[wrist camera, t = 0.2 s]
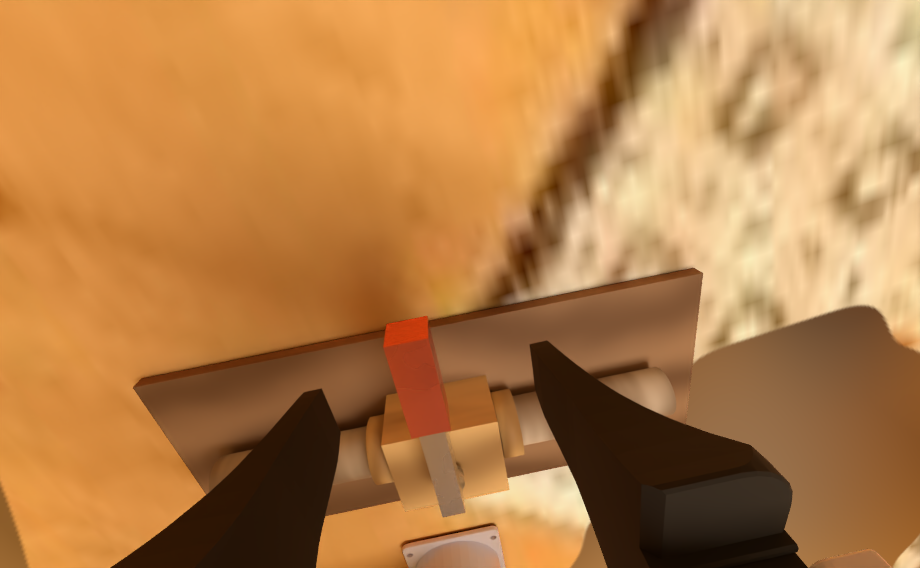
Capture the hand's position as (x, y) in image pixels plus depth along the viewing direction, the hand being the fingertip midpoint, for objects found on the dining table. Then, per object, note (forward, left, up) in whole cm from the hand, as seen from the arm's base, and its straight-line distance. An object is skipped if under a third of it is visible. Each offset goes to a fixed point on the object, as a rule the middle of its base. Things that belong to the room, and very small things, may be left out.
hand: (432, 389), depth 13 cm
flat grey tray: (-10, +1, -10) cm, 14 cm away
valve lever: (-5, +1, -5) cm, 7 cm away
